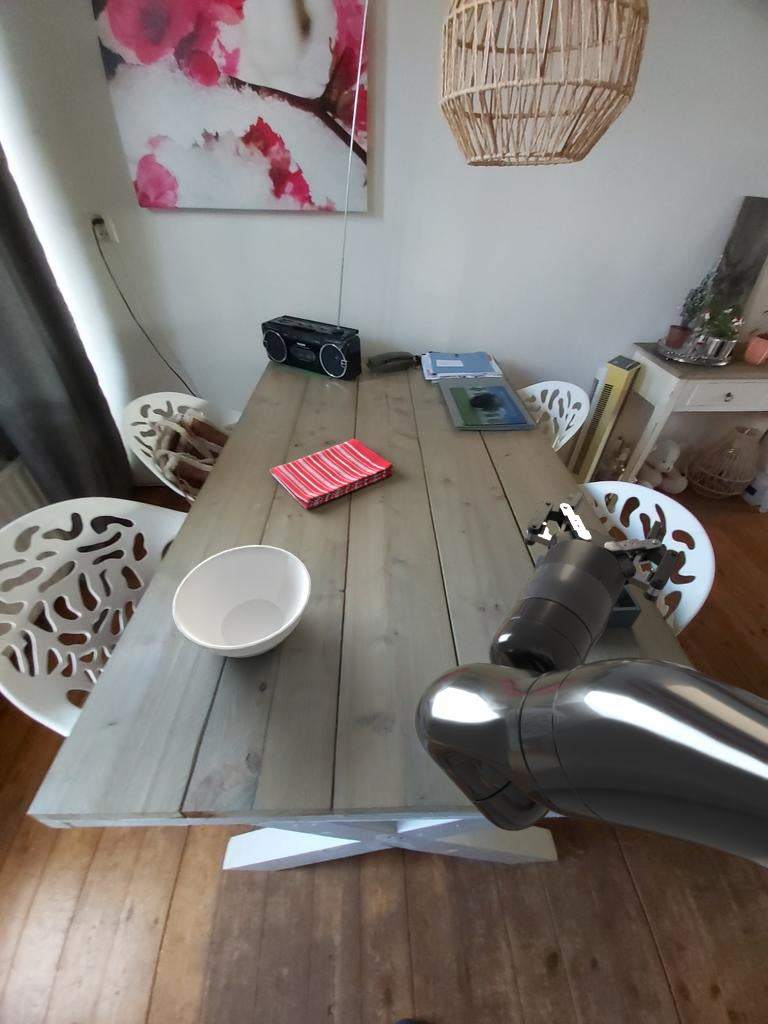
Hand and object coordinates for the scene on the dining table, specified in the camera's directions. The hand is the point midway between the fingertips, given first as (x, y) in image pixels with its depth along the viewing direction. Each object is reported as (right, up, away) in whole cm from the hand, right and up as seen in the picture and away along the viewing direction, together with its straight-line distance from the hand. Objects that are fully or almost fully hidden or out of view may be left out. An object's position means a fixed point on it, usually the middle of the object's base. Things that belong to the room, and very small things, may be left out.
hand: (615, 512), depth 51 cm
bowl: (-48, -18, +18) cm, 54 cm away
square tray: (+6, -15, +23) cm, 28 cm away
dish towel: (-39, +9, +51) cm, 64 cm away
